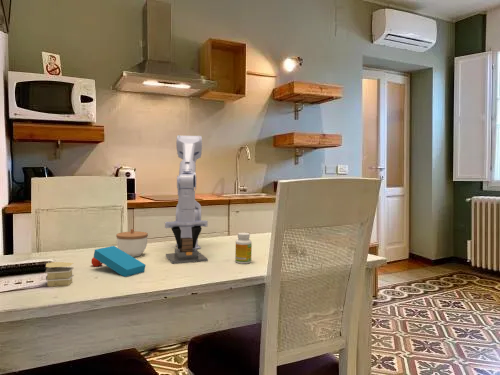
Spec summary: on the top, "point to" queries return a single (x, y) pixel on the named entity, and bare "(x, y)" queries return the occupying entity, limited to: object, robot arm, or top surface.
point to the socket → (186, 256)
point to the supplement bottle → (243, 248)
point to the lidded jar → (132, 242)
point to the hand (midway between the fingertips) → (186, 247)
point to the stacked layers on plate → (59, 274)
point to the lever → (117, 261)
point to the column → (186, 244)
